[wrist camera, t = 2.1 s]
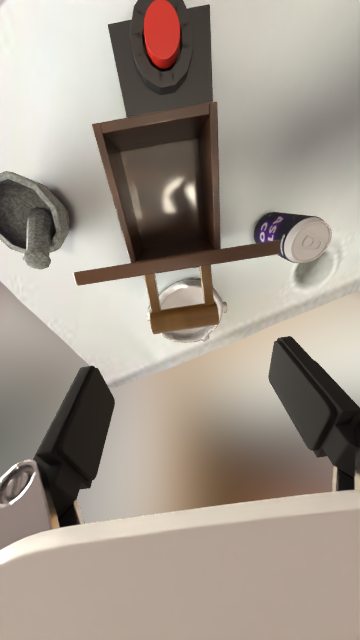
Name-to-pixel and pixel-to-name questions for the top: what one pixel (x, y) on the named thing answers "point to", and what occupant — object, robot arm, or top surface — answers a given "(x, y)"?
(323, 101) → the top surface
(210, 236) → the brown open box
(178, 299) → the dish
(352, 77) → the top surface
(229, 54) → the top surface
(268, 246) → the wooden box lid
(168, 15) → the button
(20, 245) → the mortar and pestle
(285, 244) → the beverage can
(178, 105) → the control block
